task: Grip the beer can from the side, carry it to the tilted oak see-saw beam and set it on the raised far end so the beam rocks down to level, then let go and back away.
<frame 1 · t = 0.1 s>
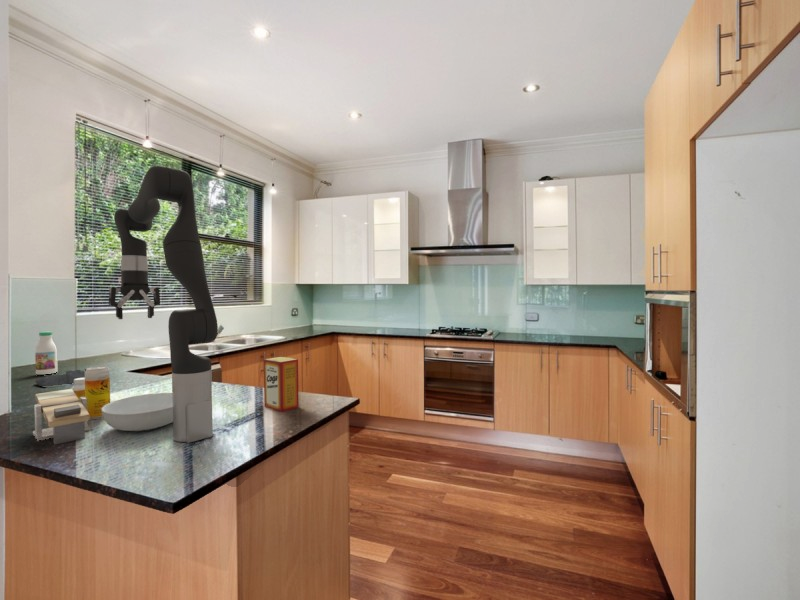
hand: (135, 318, 135), 29 cm above the table, tool pointing down, fingers open, 8 cm apart
baking soda box: (281, 407, 133), on the table
supplement bottle: (82, 408, 134), on the table
stand: (62, 432, 110), on the table
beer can: (98, 417, 124), on the table
serving bowl: (147, 426, 115), on the table
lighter: (98, 397, 147), on the table
seesaw: (61, 403, 110), point 8 cm above the table, hinge at -9.0°
dark slate chunk: (70, 382, 174), on the table
milk bottle: (46, 374, 190), on the table
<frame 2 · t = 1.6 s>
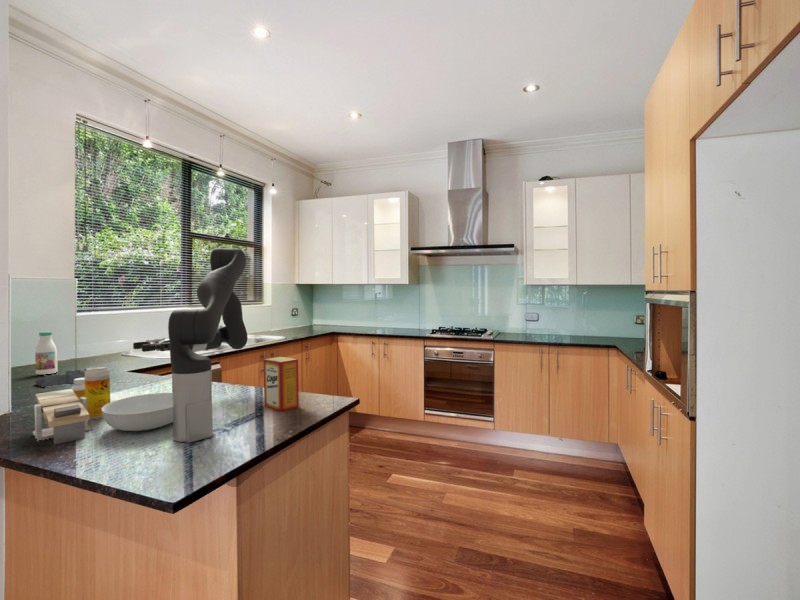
hand: (137, 347, 131), 20 cm above the table, tool horizontal, fingers open, 8 cm apart
nothing on the table moved.
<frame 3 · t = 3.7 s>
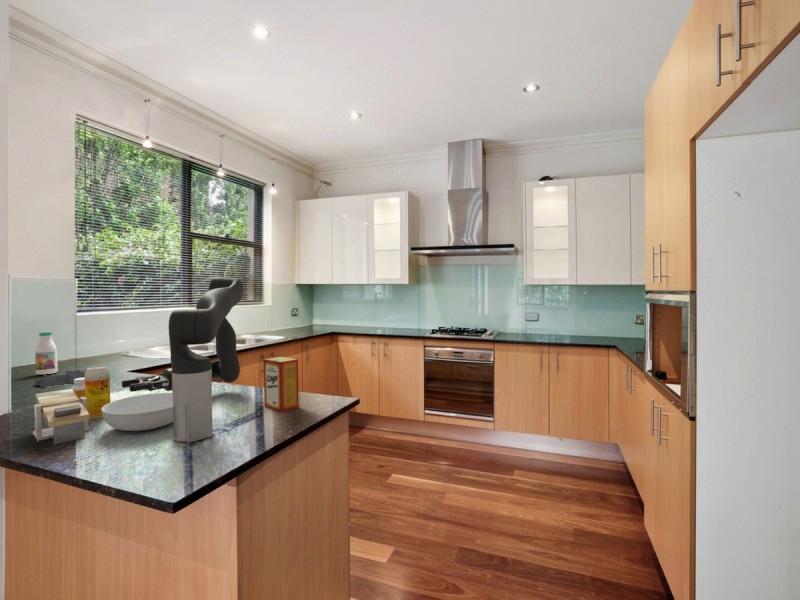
hand: (125, 386, 129), 8 cm above the table, tool horizontal, fingers open, 8 cm apart
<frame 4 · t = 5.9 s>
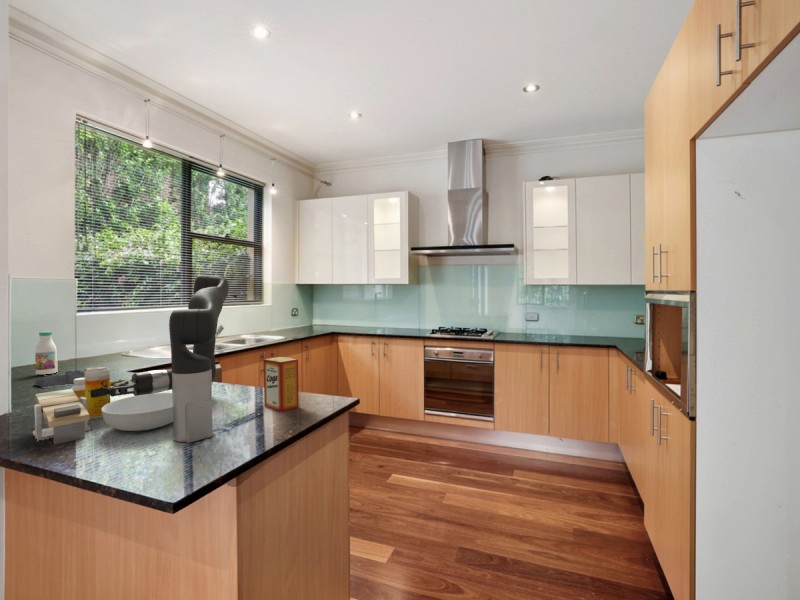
hand: (88, 392, 122), 8 cm above the table, tool horizontal, fingers closed on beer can, 6 cm apart
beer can: (98, 417, 124), on the table, touching gripper
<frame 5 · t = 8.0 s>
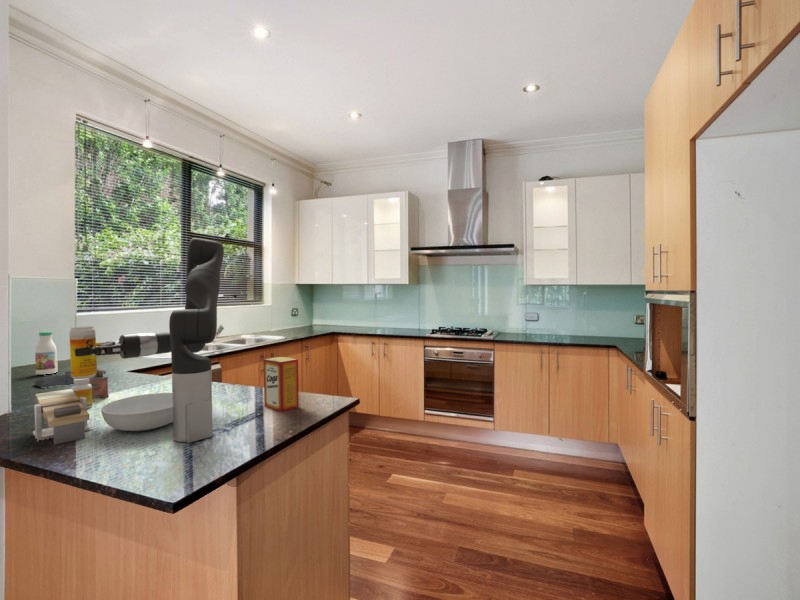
hand: (73, 351, 119), 21 cm above the table, tool horizontal, fingers closed on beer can, 6 cm apart
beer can: (84, 378, 121), point 12 cm above the table, touching gripper
when the fingers open (16 cm above the table, at t = 10.3 s): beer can stays where it is, resting on seesaw.
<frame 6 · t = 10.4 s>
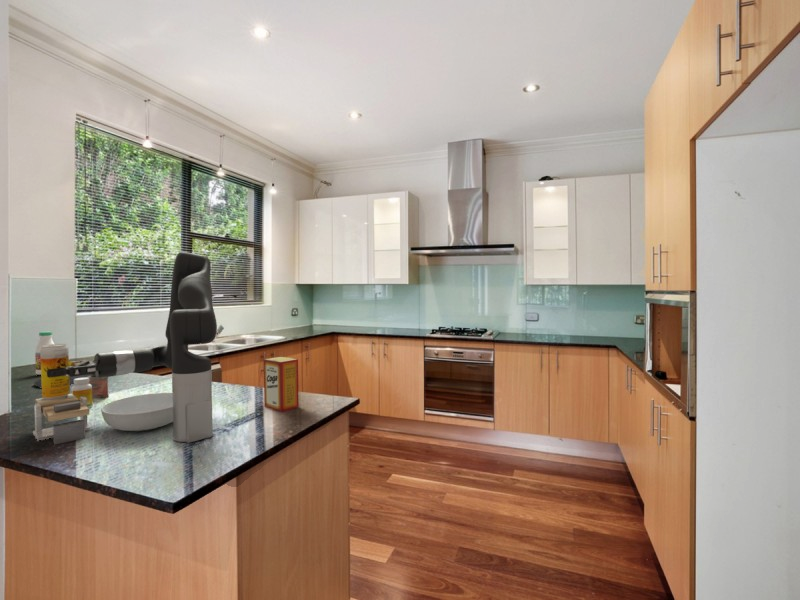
hand: (44, 371, 114), 16 cm above the table, tool horizontal, fingers open, 7 cm apart
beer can: (56, 398, 116), point 8 cm above the table, touching seesaw
seesaw: (61, 403, 110), point 8 cm above the table, hinge at -1.1°, touching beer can
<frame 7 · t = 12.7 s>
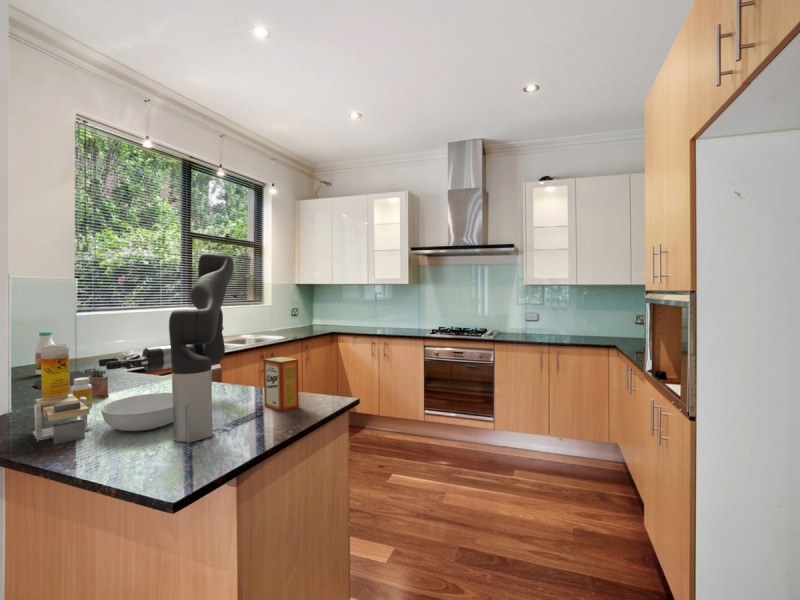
hand: (102, 364, 124), 16 cm above the table, tool horizontal, fingers open, 8 cm apart
seesaw: (61, 403, 110), point 8 cm above the table, hinge at -0.6°, touching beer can
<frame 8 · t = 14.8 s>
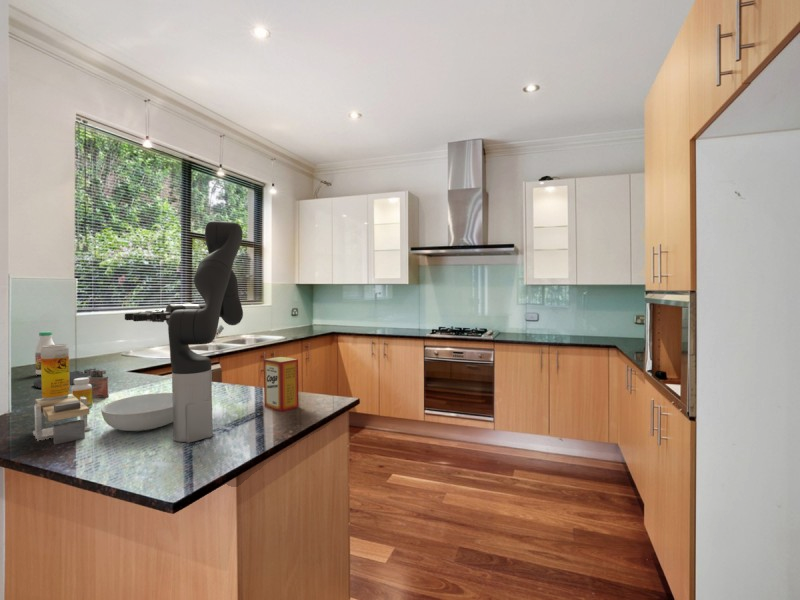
hand: (128, 317, 128), 30 cm above the table, tool horizontal, fingers open, 8 cm apart
at the end: seesaw at -1° (first picture: -9°); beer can inside the target area (0.5 cm from its centre), point 7.7 cm above the table; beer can tilted 1° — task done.
